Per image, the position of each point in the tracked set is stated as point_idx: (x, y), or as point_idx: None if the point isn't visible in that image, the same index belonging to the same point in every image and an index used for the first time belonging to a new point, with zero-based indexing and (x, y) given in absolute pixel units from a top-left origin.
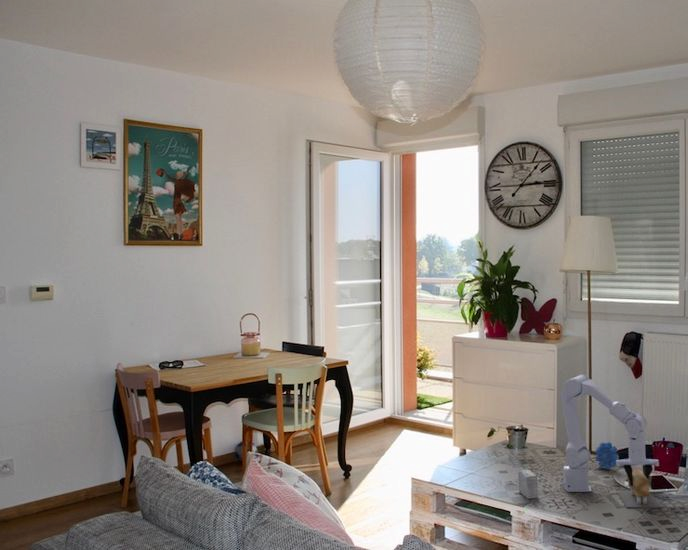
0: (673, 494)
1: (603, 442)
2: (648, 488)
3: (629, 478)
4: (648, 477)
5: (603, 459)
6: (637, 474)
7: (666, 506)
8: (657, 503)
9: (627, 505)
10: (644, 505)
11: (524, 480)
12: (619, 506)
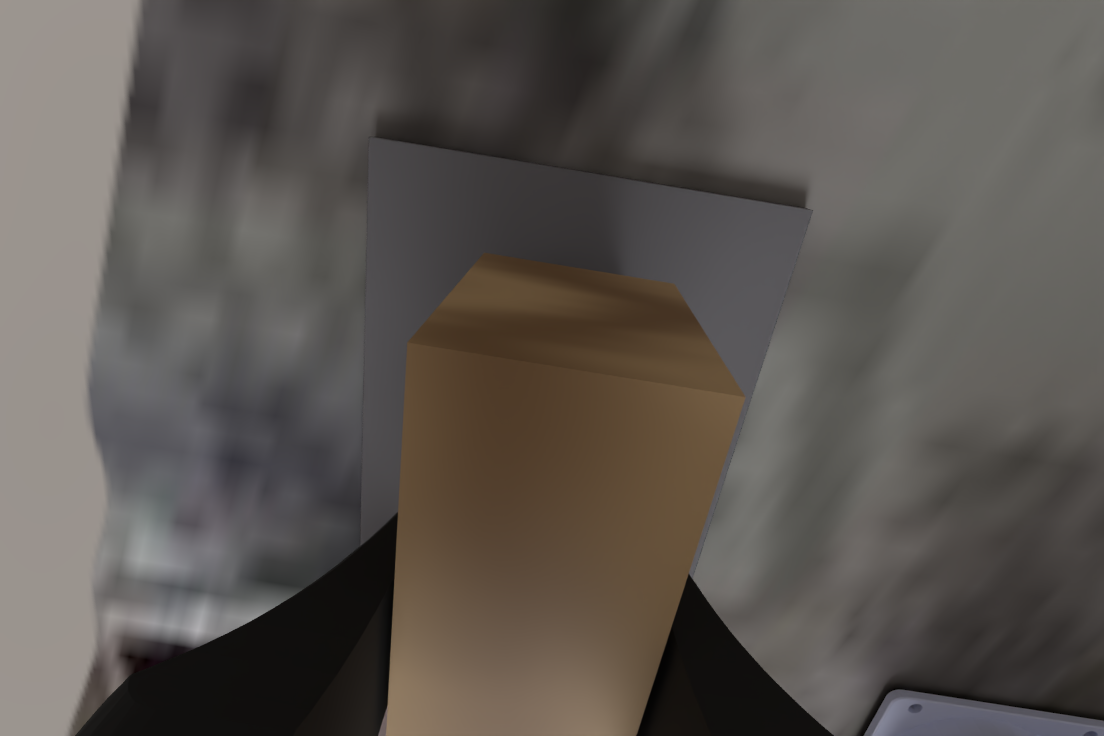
0: (155, 509)
1: None
2: (465, 284)
3: (718, 618)
4: (338, 569)
5: None
6: (519, 704)
7: (306, 192)
8: (390, 263)
9: (778, 259)
10: (571, 223)
11: None
12: (857, 287)
